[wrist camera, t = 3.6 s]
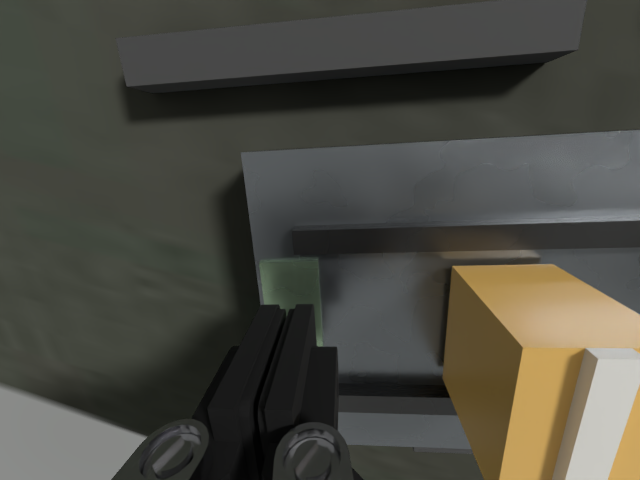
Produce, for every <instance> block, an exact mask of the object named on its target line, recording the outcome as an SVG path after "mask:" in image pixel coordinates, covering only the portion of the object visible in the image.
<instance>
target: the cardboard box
mask: <svg viewBox="0 0 640 480" xmlns="http://www.w3.org/2000/svg"><path fill="white" fill-rule="evenodd" d="M442 378H443V381H444V383H445V386H446V388H447V391H448V393H449V395H450V398H451V400H452V403H453V405H454V408H455V410H456V412H457V415H458V417H459V420H460V422H461V425H462V427H463V429H464V432H465V434H466V437H467V439H468V442H469V444H470V446H471V449H472V451H473V454H474V456H475V459H476V461H477V463H478V466H479V468H480V471H481V473H482V476H483V478H484V480H640V314H638V313H636V312H635V311H633V310H631V309H629V308H628V307H626V306H624V305H623V304H621V303H619V302H617V301H616V300H614V299H612V298H610V297H609V296H607V295H605V294H604V293H602V292H600V291H598V290H597V289H595V288H593V287H592V286H590V285H588V284H586V283H585V282H583V281H581V280H579V279H578V278H576V277H574V276H573V275H571V274H569V273H567V272H566V271H564V270H562V269H561V268H559V267H557V266H555V265H554V264H532V265H475V266H452V272H451V284H450V296H449V307H448V319H447V330H446V342H445V354H444V365H443V377H442Z"/></svg>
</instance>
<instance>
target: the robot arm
mask: <svg viewBox="0 0 640 480" xmlns="http://www.w3.org/2000/svg"><path fill="white" fill-rule="evenodd" d="M338 406H339V373H338V350H337V347H323V346H317V340H316V326H315V311H314V305H313V304H296V306H295V309H289V312H288V315H287V316H286V310H285V309H280V306H279V304H263V305H261V306H260V307H259V309H258V311H257V313H256V315H255V317H254V319H253V321H252V323H251V325H250V327H249V329H248V331H247V333H246V335H245V336H244V338H243V340H242V342H241V344H240V346H233V347H231V349H230V350H229V352H228V354H227V355H226V357H225V359H224V361H223V363H222V364H221V366H220V368H219V370H218V372H217V373H216V375H215V377H214V379H213V381H212V382H211V384H210V386H209V388H208V390H207V391H206V393H205V395H204V397H203V399H202V400H201V402H200V404H199V406H198V408H197V409H196V411H195V413H194V415H193V417H192V418H191V419H181V420H176V421H172V422H170V423H168V424H166V425H164V426H162V427H160V428H159V429H157V430H156V431H154V432H153V433H152V434H150V435H149V436H148V437H147V438H146V439H145V440H144V441H143V442H142V444H141V445H140V446H139V447H138V448H137V449H136V451H135V452H134V453H133V454H132V455H131V457H130V458H129V459H128V460H127V461H126V463H125V464H124V465H123V466H122V468H121V469H120V470H119V471H118V472H117V474H116V475H115V476H114V477H113V478H112V480H363V479H362V478H361V476H360V475H359V474H358V473H357V472H356V471H355V470H354V469H353V468H352V467H351V461H350V455H349V450H348V447H347V444H346V441H345V439H344V438H343V437H342V435H341V434H340V433H339V431H338Z"/></svg>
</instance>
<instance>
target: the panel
mask: <svg viewBox="0 0 640 480" xmlns="http://www.w3.org/2000/svg"><path fill="white" fill-rule="evenodd" d="M241 157H242V165H243V173H244V181H245V188H246V196H247V204H248V211H249V219H250V227H251V234H252V242H253V250H254V258H255V265H256V273H257V281H258V288H259V296H260V304H261V305H263V304H279V306H280V309H285V310H286V316H287V315H288V312H289V309H295V306H296V304H313V305H314V311H315V326H316V340H317V346H323V347H337V350H338V373H339V406H338V431H339V433H340V434H341V435H342V437H343V438H344V439H345V441H346V444H351V445H376V446H402V447H428V448H454V449H471V446H470V444H469V442H468V439H467V437H466V434H465V432H464V429H463V427H462V425H461V422H460V420H459V417H458V415H457V412H456V410H455V408H454V405H453V403H452V400H451V398H450V395H449V393H448V391H447V388H446V386H445V383H444V381H443V378H442V377H443V365H444V354H445V342H446V330H447V319H448V307H449V296H450V284H451V272H452V266H475V265H532V264H554V265H555V266H557V267H559V268H561V269H562V270H564V271H566V272H567V273H569V274H571V275H573V276H574V277H576V278H578V279H579V280H581V281H583V282H585V283H586V284H588V285H590V286H592V287H593V288H595V289H597V290H598V291H600V292H602V293H604V294H605V295H607V296H609V297H610V298H612V299H614V300H616V301H617V302H619V303H621V304H623V305H624V306H626V307H628V308H629V309H631V310H633V311H635V312H636V313H638V314H640V129H637V130H620V131H602V132H584V133H567V134H549V135H532V136H514V137H496V138H479V139H461V140H443V141H426V142H408V143H391V144H373V145H355V146H338V147H320V148H302V149H285V150H267V151H253V152H241Z"/></svg>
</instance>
